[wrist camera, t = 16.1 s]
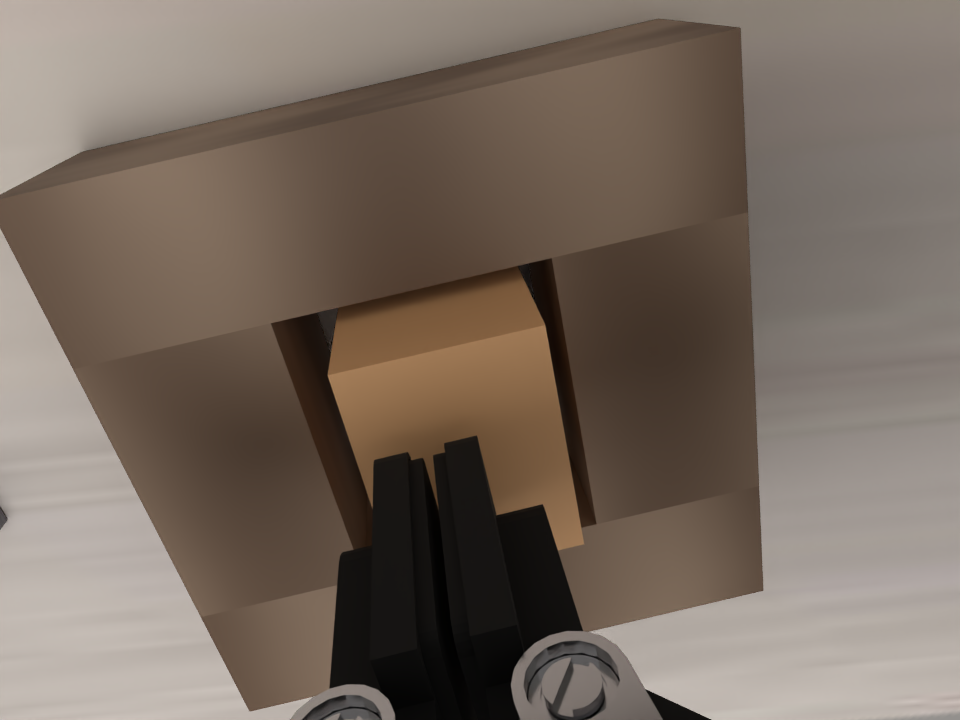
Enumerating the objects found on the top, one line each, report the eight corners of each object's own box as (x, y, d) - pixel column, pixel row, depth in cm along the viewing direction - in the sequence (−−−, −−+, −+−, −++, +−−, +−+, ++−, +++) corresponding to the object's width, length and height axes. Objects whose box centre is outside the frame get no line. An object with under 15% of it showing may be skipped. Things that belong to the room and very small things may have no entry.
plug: (495, 218, 17) (545, 325, 11) (528, 386, 19) (583, 544, 13) (346, 252, 17) (327, 375, 11) (395, 417, 19) (398, 587, 13)
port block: (658, 18, 15) (740, 28, 12) (698, 487, 21) (763, 590, 17) (80, 151, 15) (-13, 201, 12) (273, 586, 21) (249, 711, 17)
